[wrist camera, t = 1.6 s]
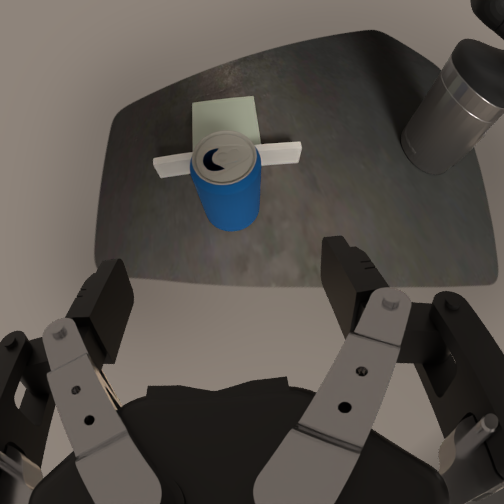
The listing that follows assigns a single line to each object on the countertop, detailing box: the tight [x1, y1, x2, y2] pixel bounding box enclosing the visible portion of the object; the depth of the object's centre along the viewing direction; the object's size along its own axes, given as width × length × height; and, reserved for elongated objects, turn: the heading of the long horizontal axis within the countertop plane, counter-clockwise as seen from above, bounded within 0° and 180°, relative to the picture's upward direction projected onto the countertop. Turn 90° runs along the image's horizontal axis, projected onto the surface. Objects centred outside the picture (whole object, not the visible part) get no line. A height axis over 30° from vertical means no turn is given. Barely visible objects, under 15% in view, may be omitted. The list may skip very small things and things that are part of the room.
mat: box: [192, 96, 261, 150], centre depth 40 cm, size 9×9×1 cm
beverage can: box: [190, 130, 261, 231], centre depth 31 cm, size 6×6×12 cm
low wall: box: [153, 142, 302, 178], centre depth 37 cm, size 18×1×4 cm, turn 96°
